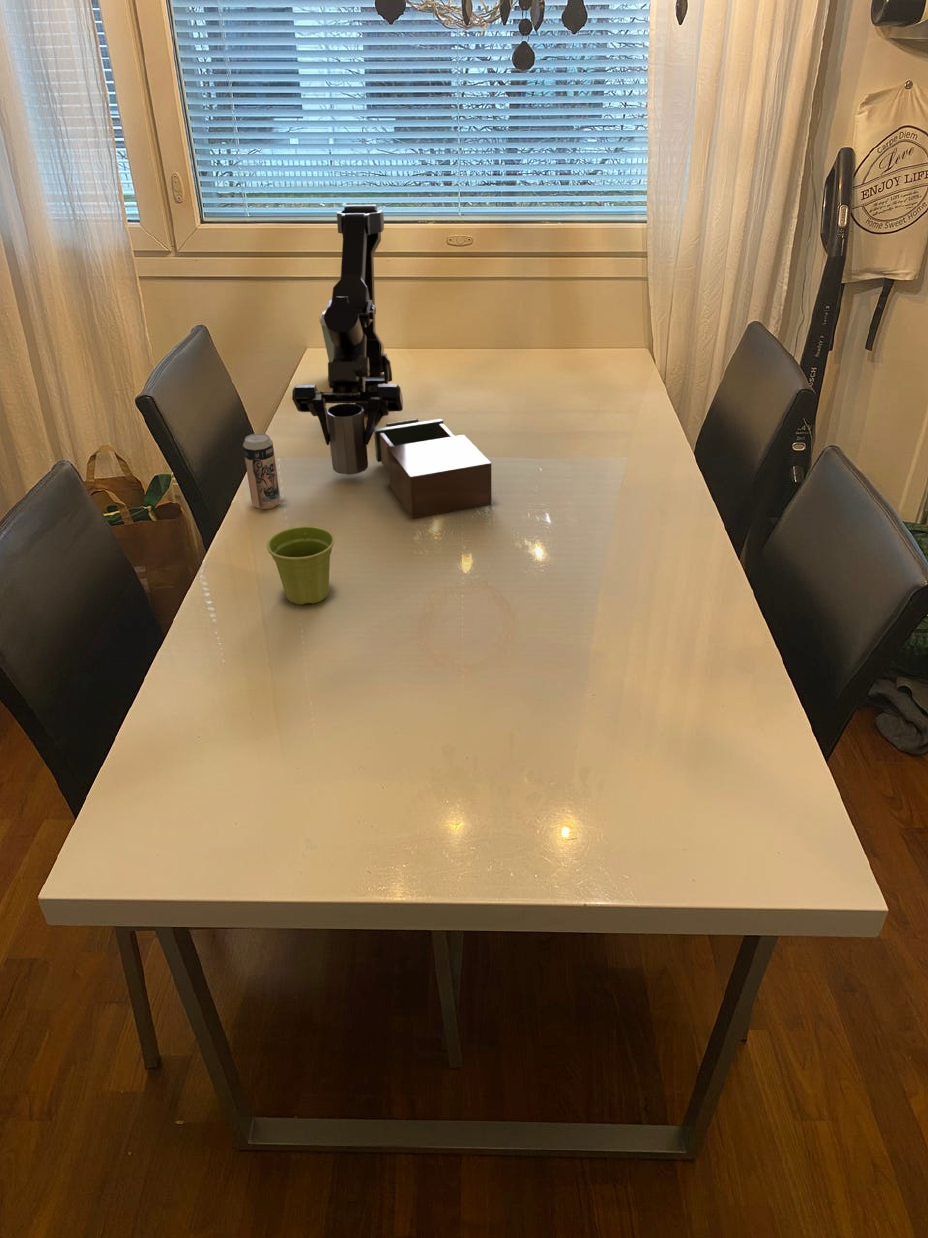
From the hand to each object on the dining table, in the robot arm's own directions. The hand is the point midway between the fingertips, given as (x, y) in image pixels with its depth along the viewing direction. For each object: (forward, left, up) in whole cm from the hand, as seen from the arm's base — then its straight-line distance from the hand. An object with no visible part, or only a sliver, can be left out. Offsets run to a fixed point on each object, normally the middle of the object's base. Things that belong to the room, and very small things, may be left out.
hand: (346, 444), depth 167 cm
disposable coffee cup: (-46, -27, -7) cm, 54 cm away
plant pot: (+36, +14, -7) cm, 39 cm away
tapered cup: (-1, -1, -5) cm, 5 cm away
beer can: (+14, -8, -7) cm, 18 cm away
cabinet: (-1, +17, -7) cm, 19 cm away
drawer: (-10, +8, -6) cm, 14 cm away
